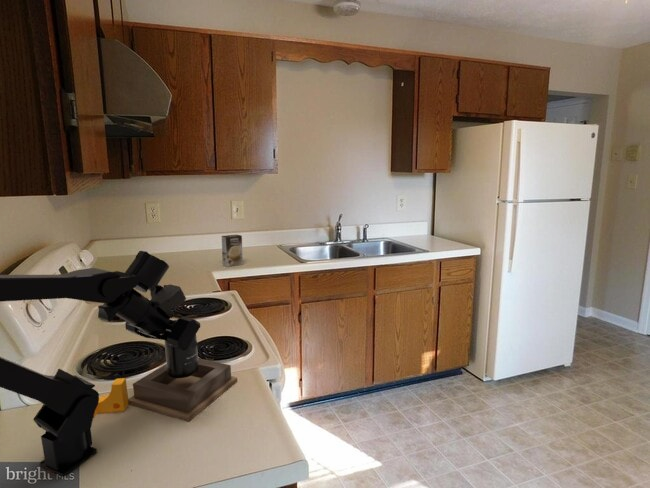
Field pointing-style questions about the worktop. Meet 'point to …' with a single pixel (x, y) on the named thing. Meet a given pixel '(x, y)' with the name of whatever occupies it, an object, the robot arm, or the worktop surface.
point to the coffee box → (232, 250)
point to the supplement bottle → (181, 360)
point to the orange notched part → (114, 398)
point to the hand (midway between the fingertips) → (185, 342)
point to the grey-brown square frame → (182, 390)
